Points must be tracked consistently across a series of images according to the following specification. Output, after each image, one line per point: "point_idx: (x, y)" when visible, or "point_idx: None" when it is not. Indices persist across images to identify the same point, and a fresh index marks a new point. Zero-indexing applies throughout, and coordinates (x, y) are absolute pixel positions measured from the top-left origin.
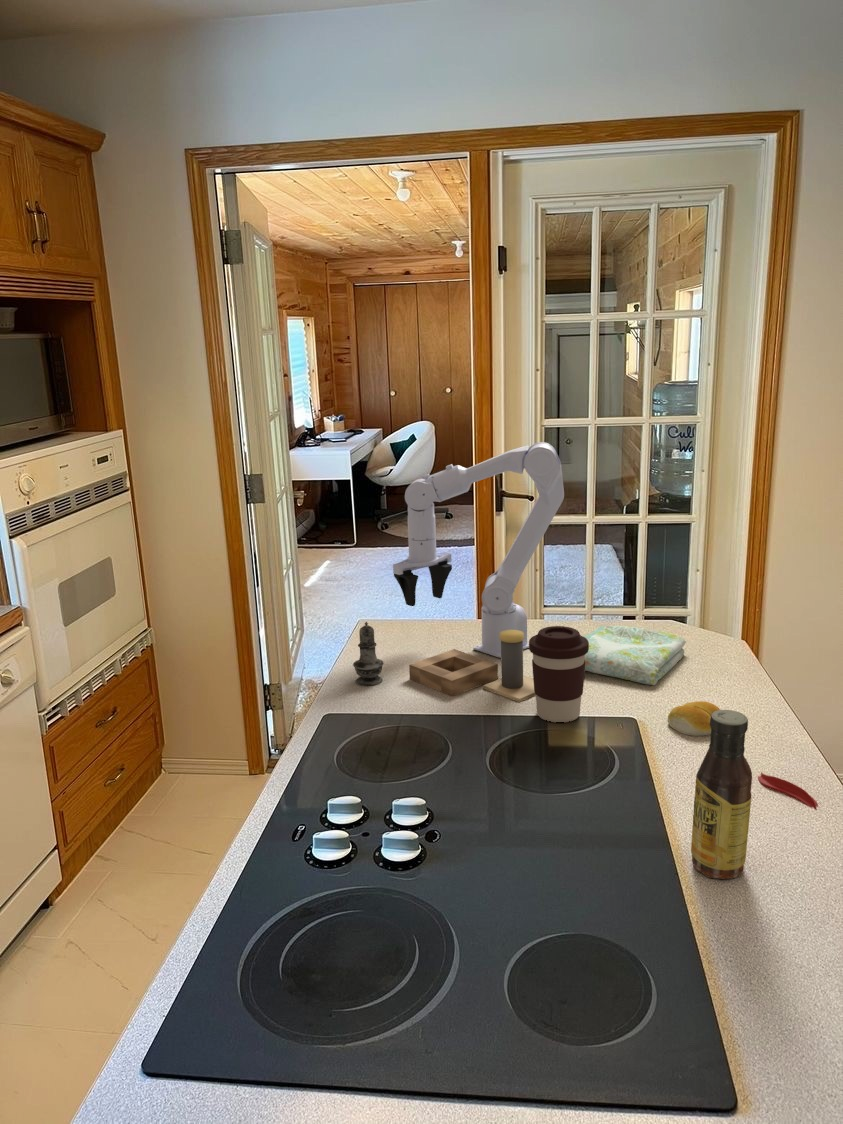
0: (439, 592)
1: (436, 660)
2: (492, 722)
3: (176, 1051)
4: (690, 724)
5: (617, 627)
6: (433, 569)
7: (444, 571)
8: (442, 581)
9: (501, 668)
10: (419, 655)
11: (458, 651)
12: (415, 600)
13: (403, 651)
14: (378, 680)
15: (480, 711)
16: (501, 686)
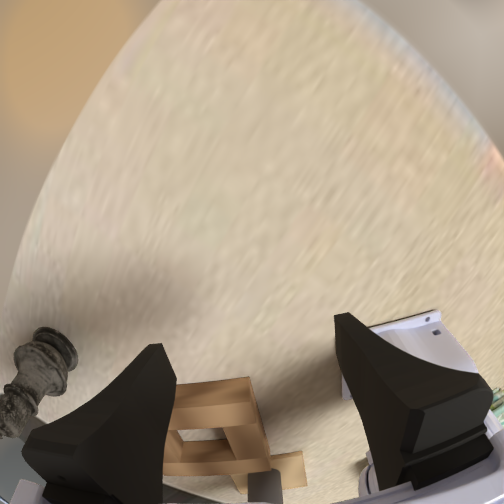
0: (345, 371)
1: (177, 424)
2: (181, 498)
3: (4, 500)
4: None
5: (501, 424)
6: (391, 435)
7: (379, 490)
8: (365, 430)
9: (249, 494)
10: (202, 294)
11: (248, 414)
12: (173, 401)
13: (177, 241)
14: (67, 369)
15: (182, 485)
16: (246, 473)
